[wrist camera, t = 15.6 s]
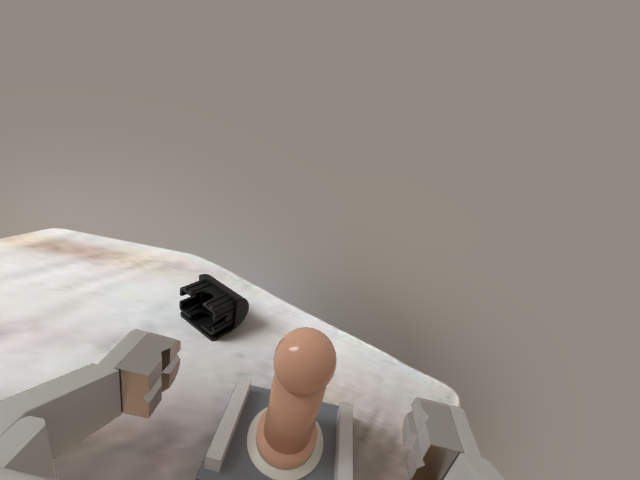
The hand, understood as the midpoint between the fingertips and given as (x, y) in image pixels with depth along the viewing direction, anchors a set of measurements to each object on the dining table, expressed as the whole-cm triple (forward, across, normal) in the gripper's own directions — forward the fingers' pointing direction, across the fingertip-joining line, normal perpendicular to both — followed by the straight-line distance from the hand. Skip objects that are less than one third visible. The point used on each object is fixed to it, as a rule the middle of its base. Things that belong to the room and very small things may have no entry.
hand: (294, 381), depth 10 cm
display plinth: (+16, -1, +29) cm, 34 cm away
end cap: (+36, +16, +30) cm, 49 cm away
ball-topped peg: (+16, -1, +27) cm, 32 cm away
